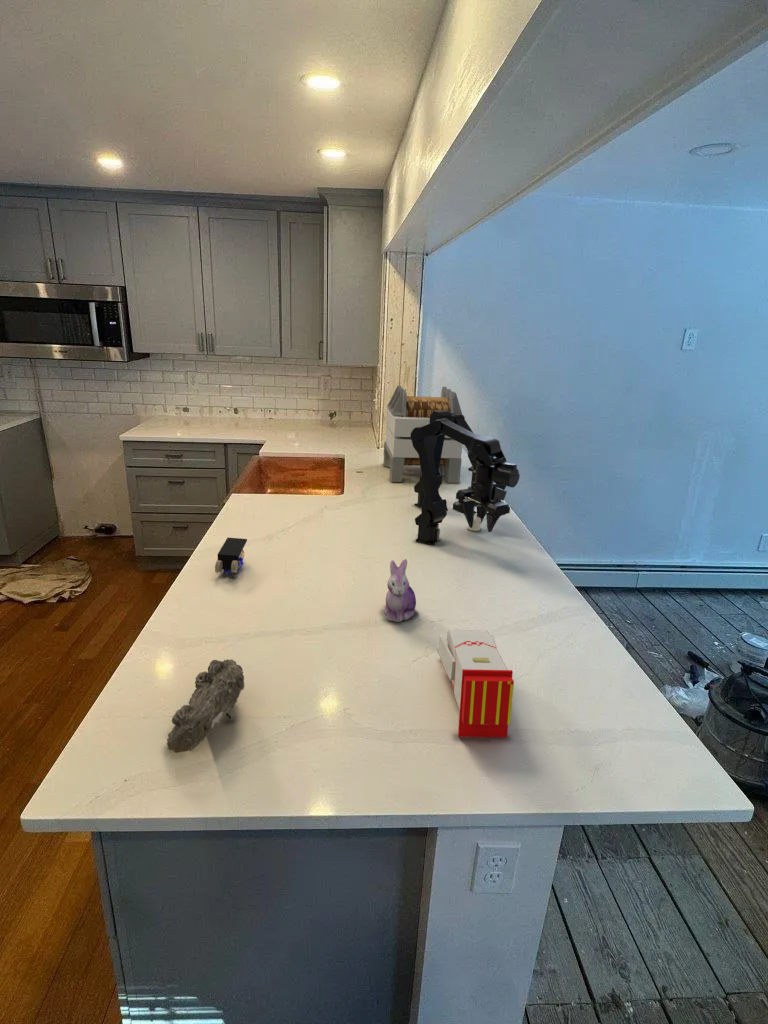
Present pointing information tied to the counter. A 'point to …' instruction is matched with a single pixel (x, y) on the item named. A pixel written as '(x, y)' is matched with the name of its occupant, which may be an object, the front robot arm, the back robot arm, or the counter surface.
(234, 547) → the black toy vehicle
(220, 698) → the fossil
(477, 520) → the can
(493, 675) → the toy
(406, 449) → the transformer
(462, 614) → the counter surface
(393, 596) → the figurine
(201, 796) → the counter surface
